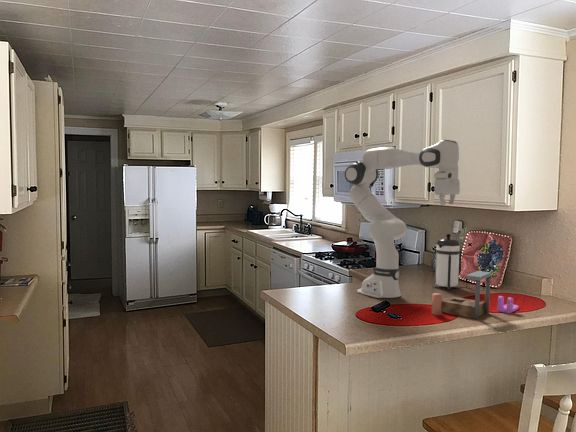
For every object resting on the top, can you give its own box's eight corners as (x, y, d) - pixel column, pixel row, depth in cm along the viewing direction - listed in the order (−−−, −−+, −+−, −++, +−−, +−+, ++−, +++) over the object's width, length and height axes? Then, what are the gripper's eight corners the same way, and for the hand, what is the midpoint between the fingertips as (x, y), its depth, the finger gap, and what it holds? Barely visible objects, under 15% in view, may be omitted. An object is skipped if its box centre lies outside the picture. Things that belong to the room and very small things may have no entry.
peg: (430, 314, 223) (430, 294, 223) (434, 312, 226) (434, 292, 226) (438, 315, 221) (439, 295, 220) (442, 314, 224) (443, 294, 223)
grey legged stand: (464, 317, 219) (465, 275, 218) (476, 310, 230) (478, 270, 228) (478, 319, 215) (479, 277, 214) (489, 313, 226) (491, 272, 224)
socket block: (439, 311, 228) (439, 300, 227) (450, 306, 237) (450, 296, 236) (474, 318, 217) (474, 307, 217) (484, 313, 226) (484, 302, 226)
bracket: (509, 313, 226) (510, 298, 226) (497, 311, 230) (497, 296, 230) (520, 308, 236) (520, 294, 235) (507, 306, 239) (508, 292, 239)
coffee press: (464, 291, 269) (466, 235, 267) (433, 289, 272) (435, 234, 270) (460, 284, 286) (462, 232, 284) (431, 283, 289) (432, 231, 287)
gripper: (450, 174, 244) (449, 203, 245) (432, 174, 229) (431, 204, 230) (463, 175, 240) (462, 204, 241) (445, 174, 225) (444, 205, 226)
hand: (447, 204), depth 235 cm, fingers open, 8 cm apart
